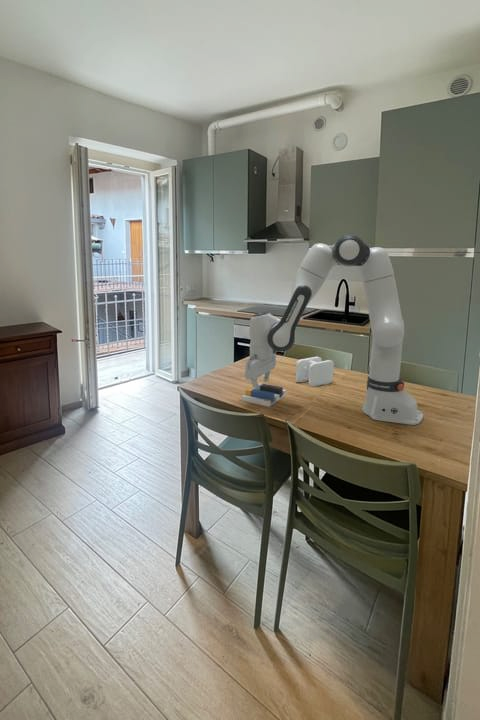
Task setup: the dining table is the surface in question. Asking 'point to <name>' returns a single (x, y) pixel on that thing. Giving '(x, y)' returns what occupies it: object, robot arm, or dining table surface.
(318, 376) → the cable organizer
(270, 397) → the blue bar yellow end
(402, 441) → the dining table surface
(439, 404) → the dining table surface
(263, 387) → the dark grey square rod
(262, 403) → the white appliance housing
